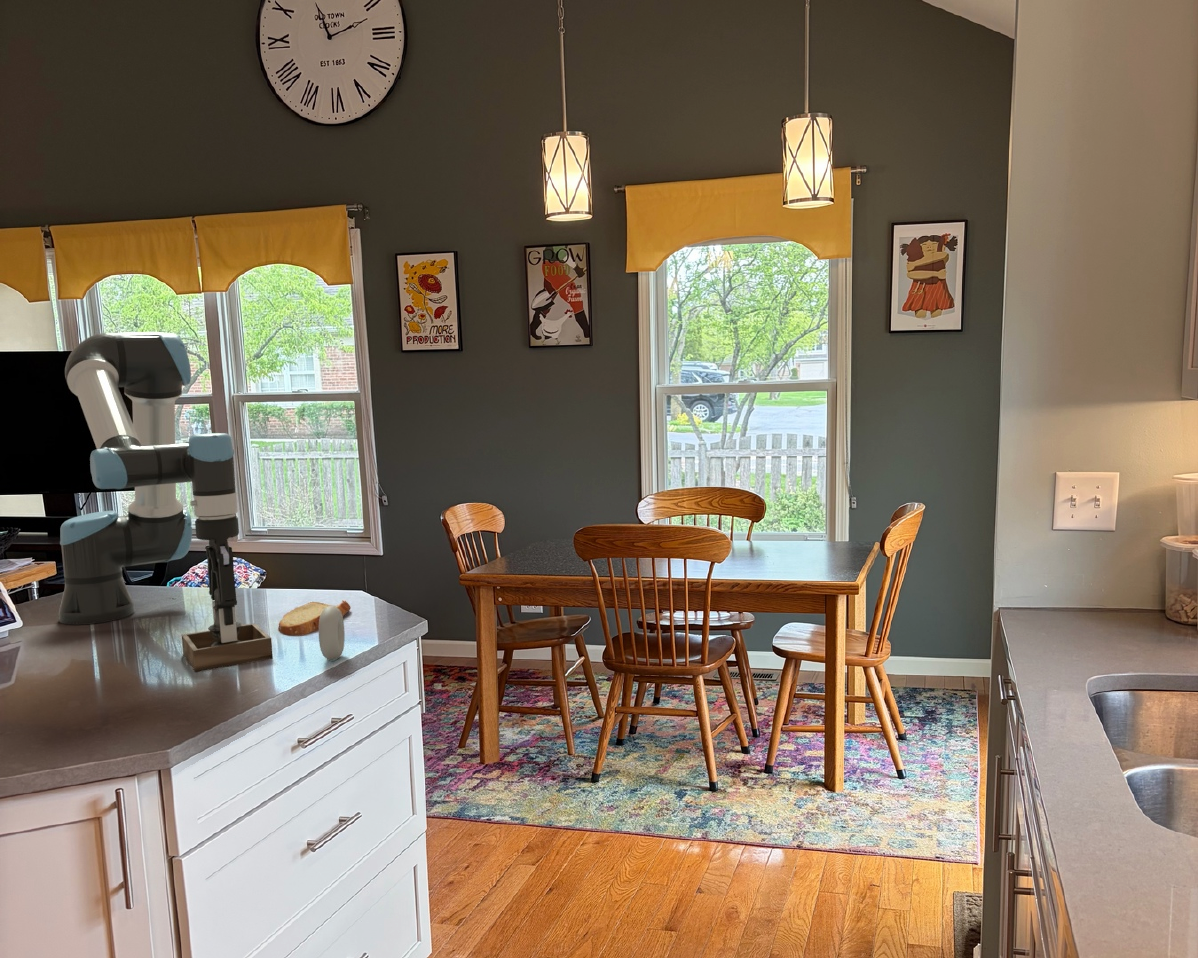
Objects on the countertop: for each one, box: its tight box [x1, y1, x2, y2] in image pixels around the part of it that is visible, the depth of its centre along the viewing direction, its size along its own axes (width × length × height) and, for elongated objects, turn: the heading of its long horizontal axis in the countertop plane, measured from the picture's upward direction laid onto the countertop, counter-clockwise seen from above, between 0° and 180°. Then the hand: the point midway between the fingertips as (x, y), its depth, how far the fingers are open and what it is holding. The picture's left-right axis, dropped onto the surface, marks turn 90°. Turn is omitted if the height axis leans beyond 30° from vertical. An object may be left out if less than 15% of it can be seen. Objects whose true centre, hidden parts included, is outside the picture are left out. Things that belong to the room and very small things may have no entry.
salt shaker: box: [207, 588, 242, 647], centre depth 183 cm, size 6×6×12 cm
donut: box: [318, 605, 346, 662], centre depth 179 cm, size 10×4×10 cm, turn 5°
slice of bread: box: [277, 600, 351, 637], centre depth 208 cm, size 18×18×4 cm
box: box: [181, 622, 274, 673], centre depth 183 cm, size 14×14×4 cm
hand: (225, 637), depth 183 cm, fingers closed on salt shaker, 6 cm apart
